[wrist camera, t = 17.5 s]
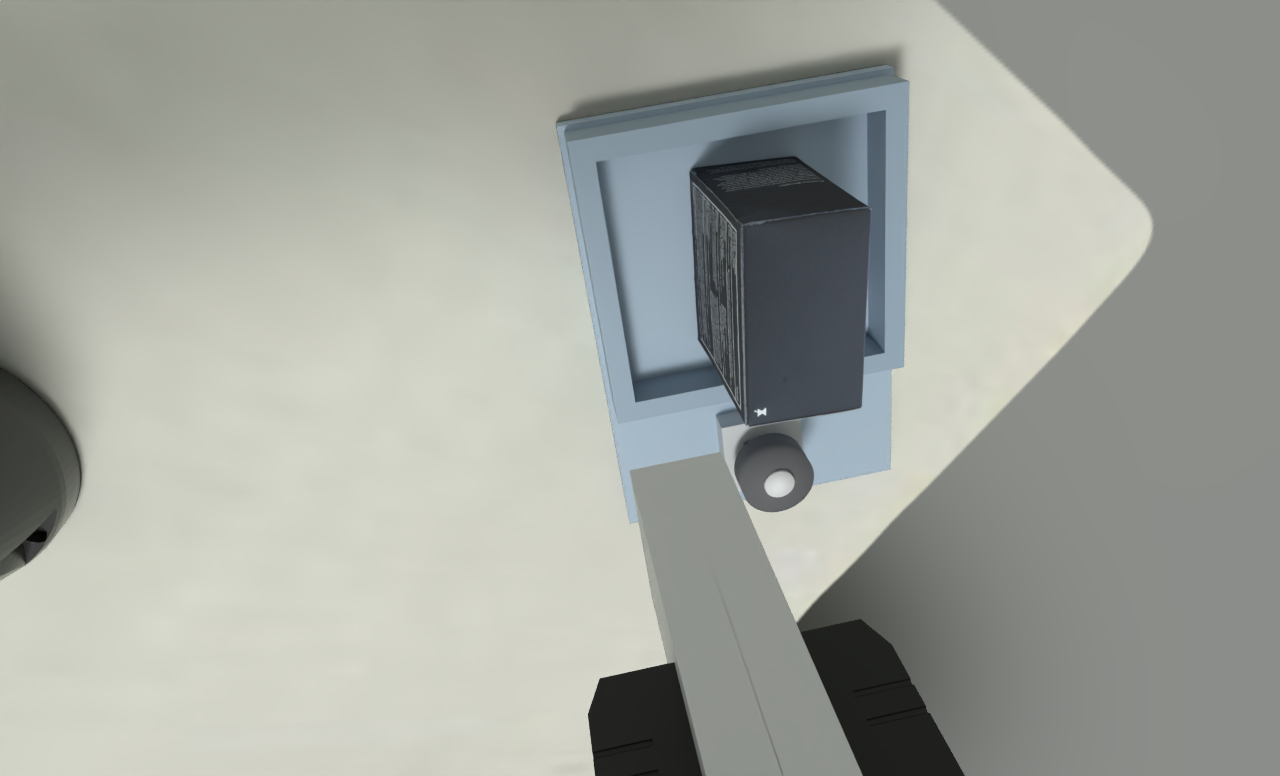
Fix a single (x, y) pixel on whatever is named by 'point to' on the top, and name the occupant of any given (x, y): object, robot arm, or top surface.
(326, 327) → the top surface
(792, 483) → the dark grey knob
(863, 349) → the small box
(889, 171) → the chassis
